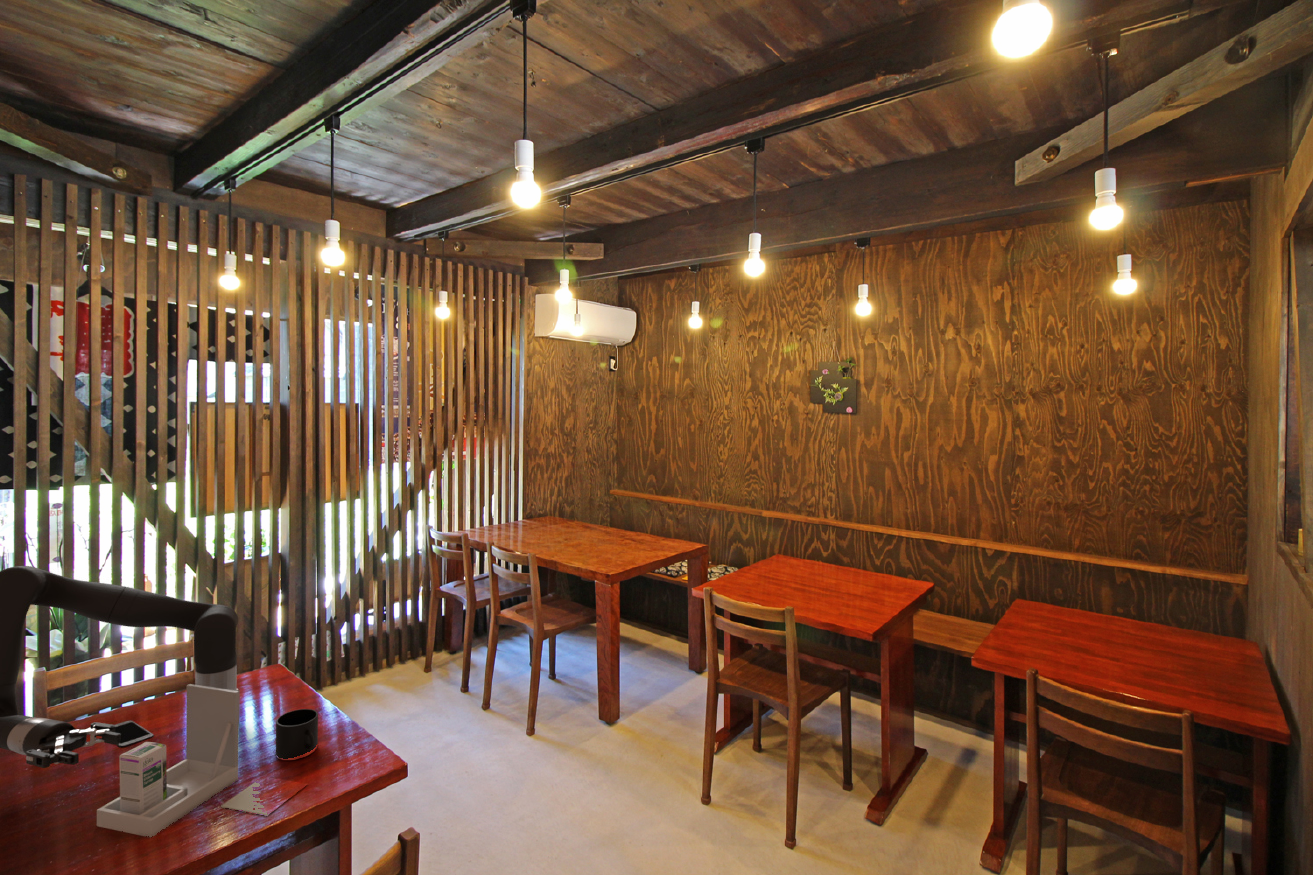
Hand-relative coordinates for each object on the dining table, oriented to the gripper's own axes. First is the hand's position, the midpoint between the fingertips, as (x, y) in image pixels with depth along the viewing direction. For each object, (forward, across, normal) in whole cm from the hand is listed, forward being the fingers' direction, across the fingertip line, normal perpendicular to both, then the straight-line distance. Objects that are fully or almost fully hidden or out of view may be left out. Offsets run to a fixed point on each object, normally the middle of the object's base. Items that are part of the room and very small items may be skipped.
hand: (98, 748), depth 137 cm
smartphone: (-24, +25, +13) cm, 38 cm away
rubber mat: (+32, +12, +12) cm, 36 cm away
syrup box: (+12, 0, +13) cm, 18 cm away
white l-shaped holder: (+14, +5, +12) cm, 19 cm away
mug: (+26, +30, +12) cm, 41 cm away
